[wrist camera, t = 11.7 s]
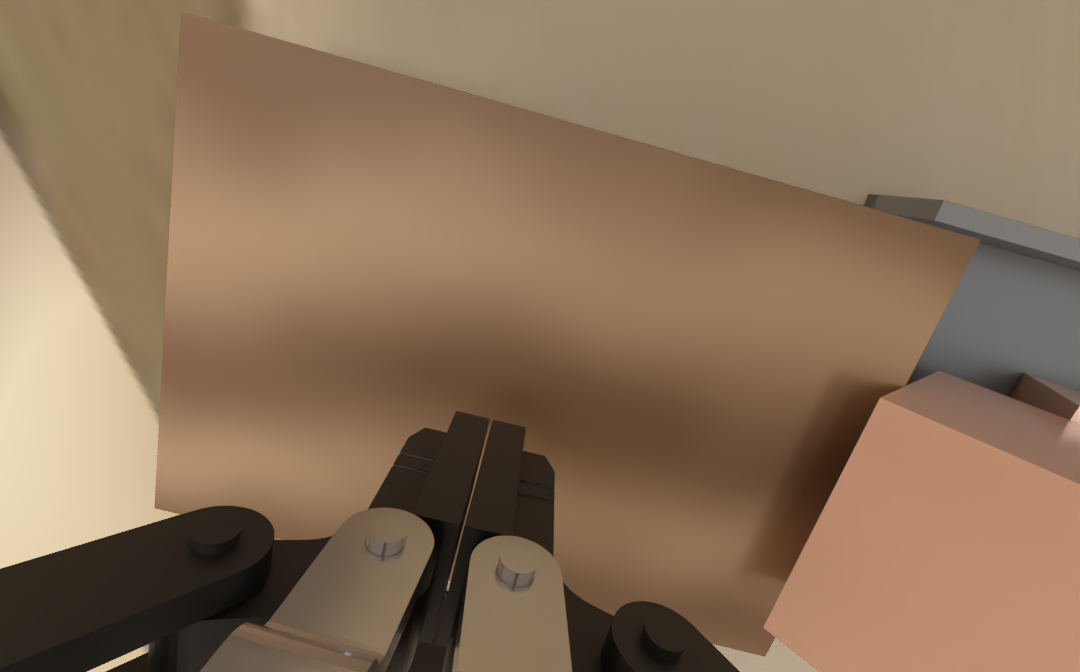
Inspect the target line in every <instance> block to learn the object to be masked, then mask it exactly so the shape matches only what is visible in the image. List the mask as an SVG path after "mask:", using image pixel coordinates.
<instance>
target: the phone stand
mask: <svg viewBox="0 0 1080 672" xmlns="http://www.w3.org/2000/svg"><path fill="white" fill-rule="evenodd" d="M447 595H448V594H447V593H445V596H444V599H443V603H442V607H441V610H440V614H439V618H438V621H437V625H436V629H435V633H434V636H433V640H432V644H430V643H425V642H421V641H418V644H417V648H416V651H415V654H414V658H413V661H412V664H411V666H410V669H409V670H408V672H442V669H443V664H444V660H445V656H446V652H447V647H445V646H440V645H436V641H437V637H438V633H439V628H440V624H441V620H442V616H443V612H444V608H445V604H446V599H447Z"/></svg>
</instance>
